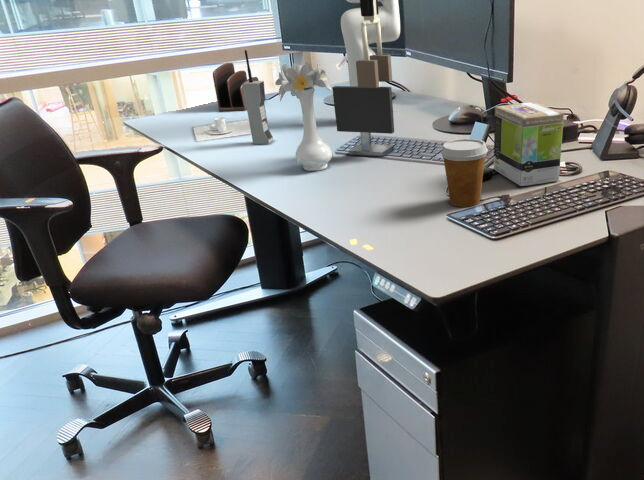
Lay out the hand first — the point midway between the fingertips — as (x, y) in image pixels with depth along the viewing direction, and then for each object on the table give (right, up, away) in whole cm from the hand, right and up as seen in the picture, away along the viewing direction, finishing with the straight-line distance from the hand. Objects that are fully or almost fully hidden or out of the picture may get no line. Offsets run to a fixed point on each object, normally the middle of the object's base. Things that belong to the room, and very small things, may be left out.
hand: (369, 14), depth 154 cm
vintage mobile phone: (-33, -18, +38) cm, 53 cm away
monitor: (-1, -26, +21) cm, 33 cm away
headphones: (+1, -13, +8) cm, 15 cm away
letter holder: (-52, +13, +87) cm, 102 cm away
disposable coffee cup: (+21, -48, -16) cm, 55 cm away
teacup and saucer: (-49, -8, +55) cm, 74 cm away
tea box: (+36, -39, -4) cm, 54 cm away
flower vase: (-15, -32, +13) cm, 38 cm away
